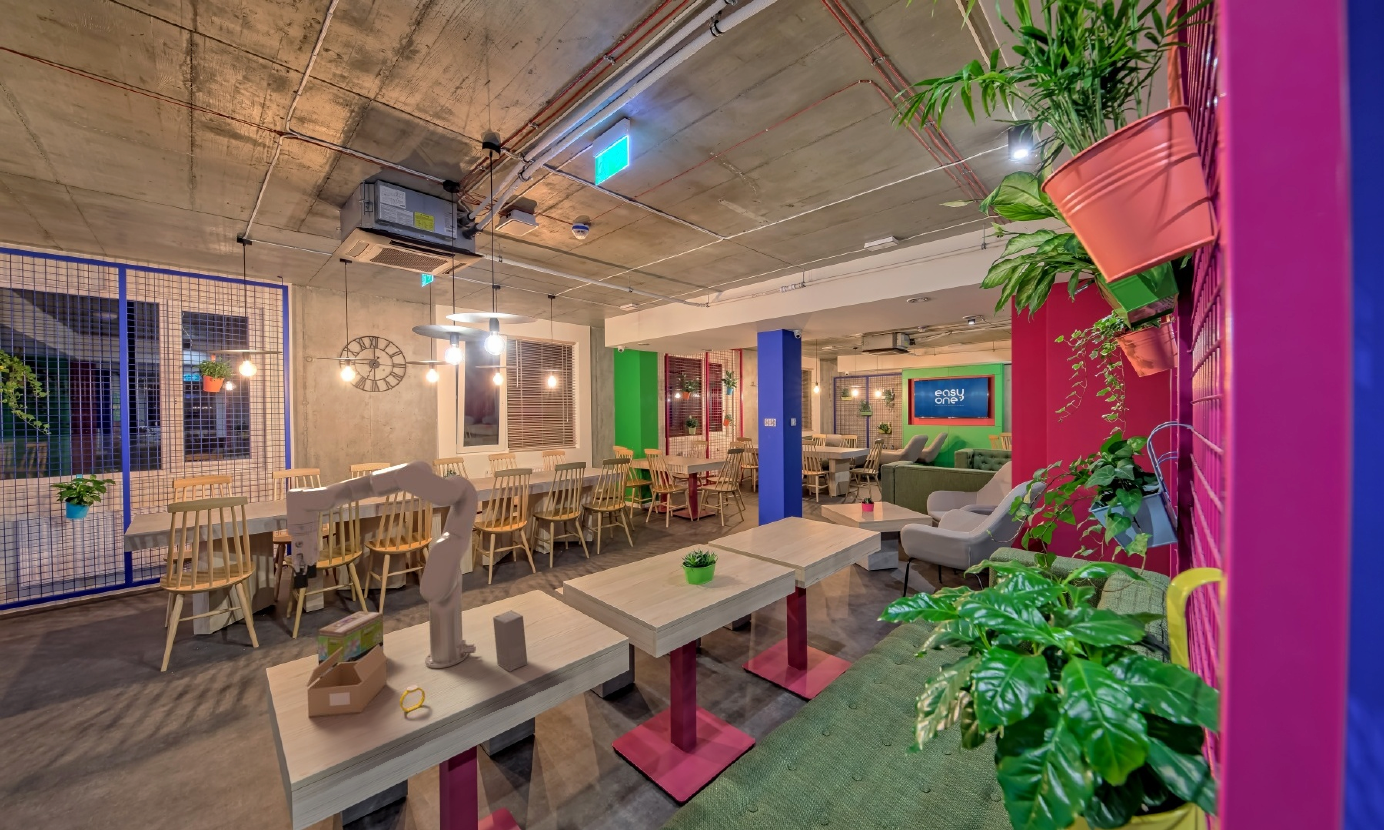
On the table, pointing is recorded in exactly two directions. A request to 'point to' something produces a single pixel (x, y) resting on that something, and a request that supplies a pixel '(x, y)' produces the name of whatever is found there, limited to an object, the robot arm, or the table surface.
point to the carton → (344, 690)
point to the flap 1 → (324, 666)
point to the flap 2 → (370, 663)
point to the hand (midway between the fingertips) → (306, 582)
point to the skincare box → (510, 640)
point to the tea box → (351, 637)
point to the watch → (410, 690)
